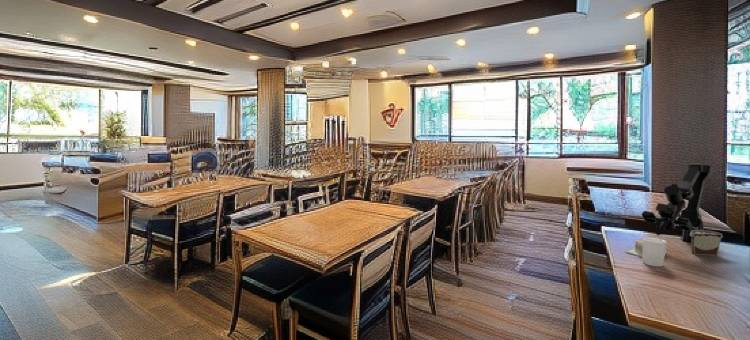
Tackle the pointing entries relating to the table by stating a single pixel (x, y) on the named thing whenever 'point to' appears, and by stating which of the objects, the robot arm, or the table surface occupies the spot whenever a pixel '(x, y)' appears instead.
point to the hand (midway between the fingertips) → (657, 234)
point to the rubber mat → (635, 253)
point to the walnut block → (639, 246)
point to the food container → (705, 242)
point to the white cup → (654, 251)
